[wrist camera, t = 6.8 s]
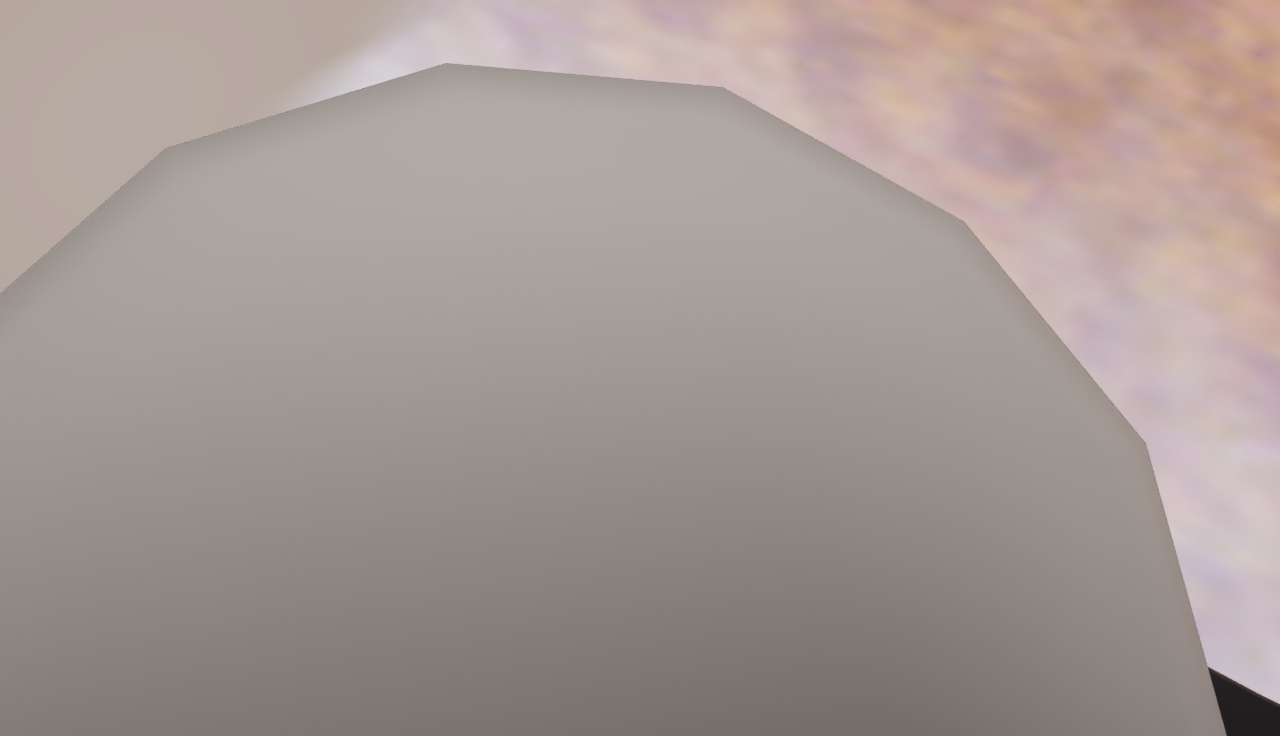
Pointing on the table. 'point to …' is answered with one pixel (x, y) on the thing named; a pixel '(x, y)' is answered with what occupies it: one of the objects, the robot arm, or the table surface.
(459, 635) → the salt shaker
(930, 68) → the table surface
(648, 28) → the table surface
